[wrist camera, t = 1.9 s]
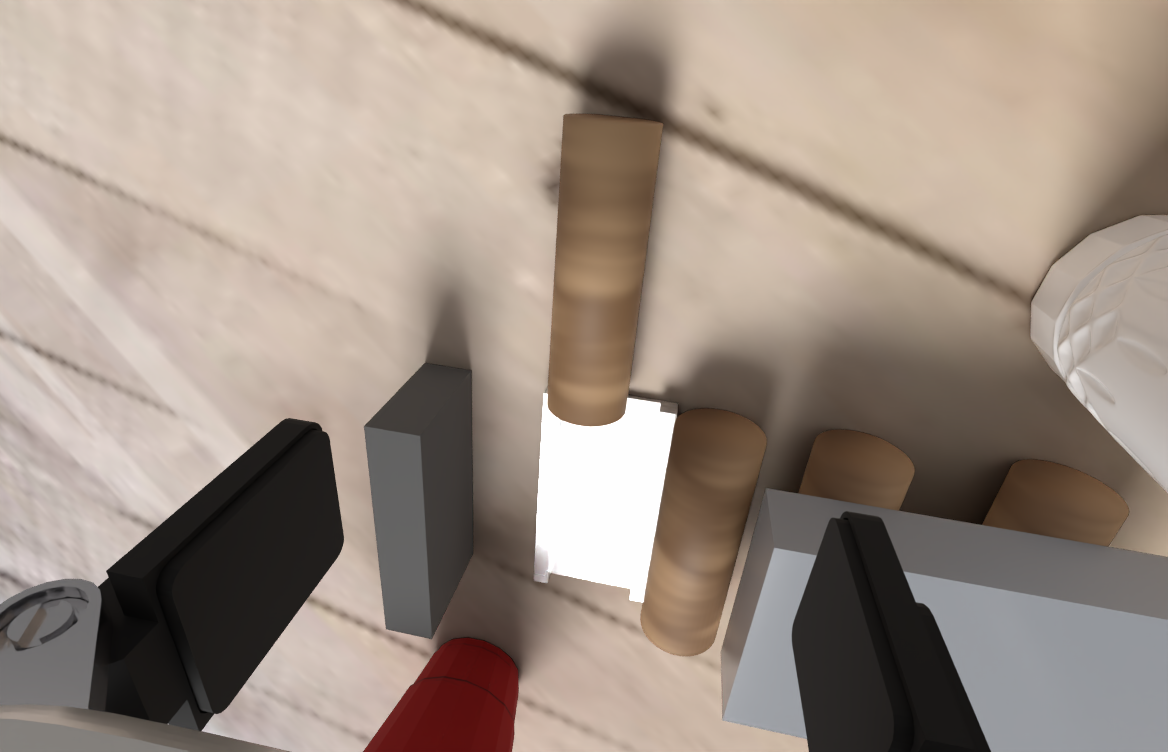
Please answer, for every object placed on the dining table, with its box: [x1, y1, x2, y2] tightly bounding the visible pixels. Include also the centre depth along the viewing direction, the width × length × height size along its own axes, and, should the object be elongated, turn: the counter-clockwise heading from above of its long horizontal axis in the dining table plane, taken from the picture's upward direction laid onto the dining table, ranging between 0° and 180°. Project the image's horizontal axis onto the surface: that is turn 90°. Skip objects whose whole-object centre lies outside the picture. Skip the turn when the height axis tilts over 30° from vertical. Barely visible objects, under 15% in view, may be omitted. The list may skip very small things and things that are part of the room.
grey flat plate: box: [534, 386, 678, 602], centre depth 31 cm, size 6×12×1 cm, turn 175°
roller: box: [547, 114, 663, 427], centre depth 24 cm, size 4×12×4 cm
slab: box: [721, 488, 1168, 752], centre depth 24 cm, size 16×10×4 cm, turn 85°
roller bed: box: [640, 408, 1129, 656], centre depth 28 cm, size 18×12×4 cm, turn 85°
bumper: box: [364, 363, 473, 639], centre depth 30 cm, size 2×12×6 cm, turn 175°
